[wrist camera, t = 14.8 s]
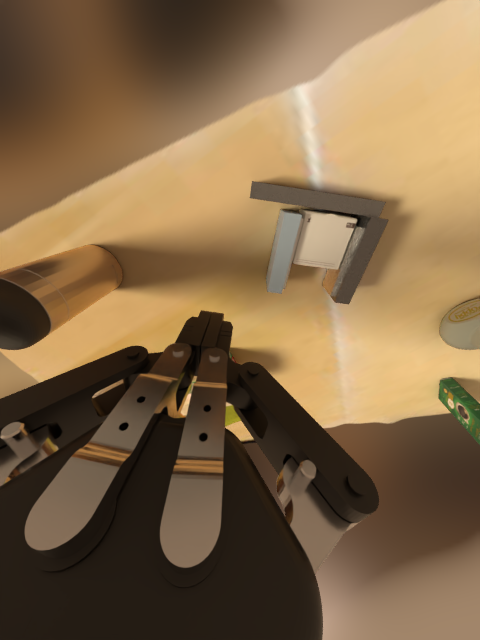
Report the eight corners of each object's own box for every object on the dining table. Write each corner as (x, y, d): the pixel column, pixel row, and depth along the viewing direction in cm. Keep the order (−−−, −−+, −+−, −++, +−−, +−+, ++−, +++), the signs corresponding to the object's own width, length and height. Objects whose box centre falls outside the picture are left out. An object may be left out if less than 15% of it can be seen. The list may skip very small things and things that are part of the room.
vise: (240, 274, 40) (237, 288, 34) (252, 182, 32) (251, 180, 26) (335, 288, 40) (348, 304, 34) (371, 201, 32) (396, 202, 26)
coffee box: (450, 396, 54) (501, 449, 43) (437, 398, 55) (484, 451, 43) (452, 376, 50) (508, 428, 39) (438, 379, 51) (490, 431, 40)
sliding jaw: (265, 278, 39) (267, 291, 34) (280, 209, 33) (284, 212, 28) (281, 281, 40) (284, 294, 34) (298, 212, 33) (306, 215, 28)
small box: (287, 255, 37) (291, 264, 33) (299, 207, 33) (305, 209, 29) (328, 262, 38) (338, 271, 33) (346, 214, 33) (359, 217, 29)
